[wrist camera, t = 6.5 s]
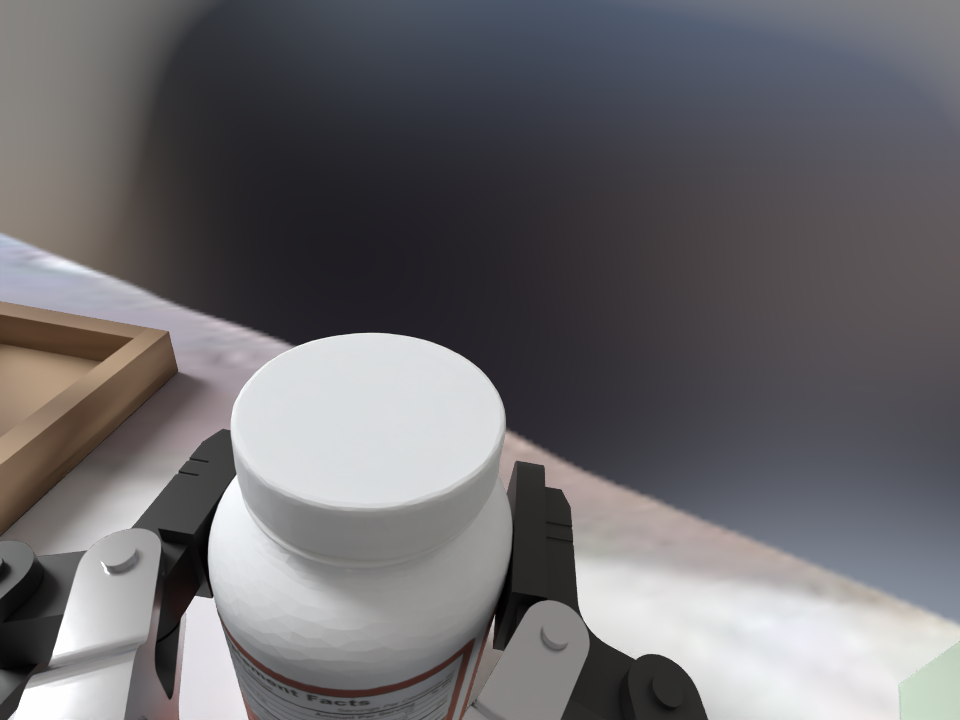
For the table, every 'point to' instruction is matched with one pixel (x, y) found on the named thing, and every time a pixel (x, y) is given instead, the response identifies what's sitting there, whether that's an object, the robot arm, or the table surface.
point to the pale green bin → (933, 689)
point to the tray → (66, 393)
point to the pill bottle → (362, 531)
